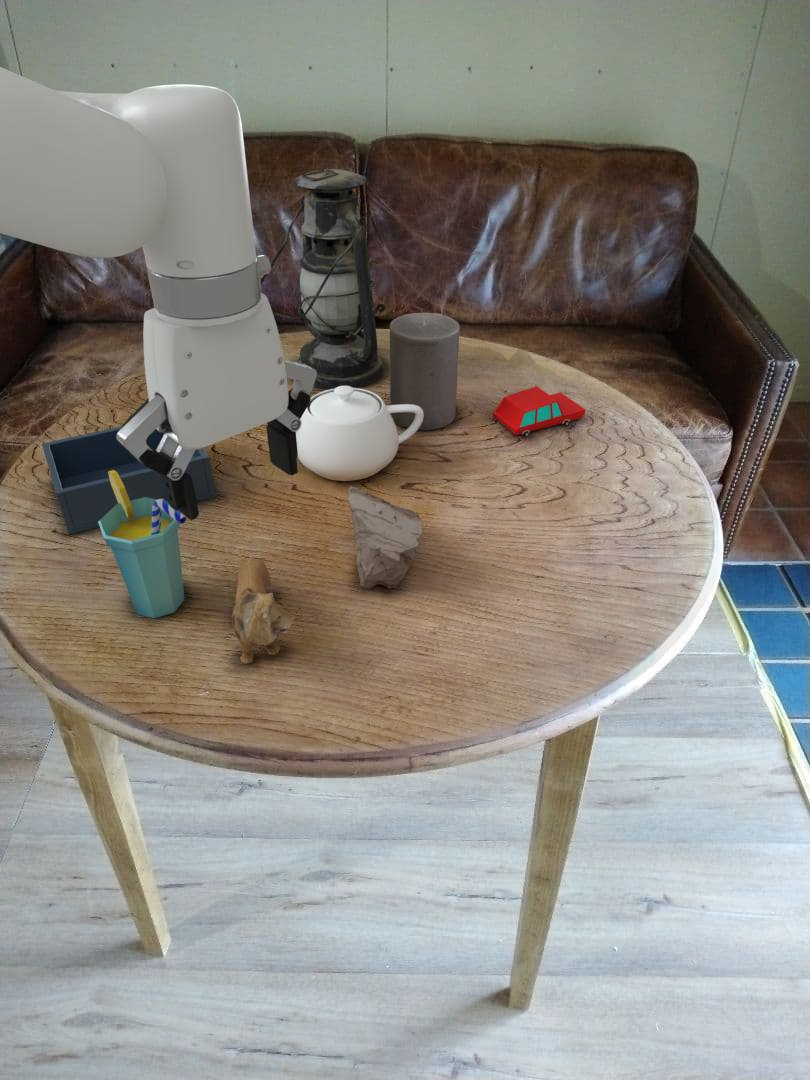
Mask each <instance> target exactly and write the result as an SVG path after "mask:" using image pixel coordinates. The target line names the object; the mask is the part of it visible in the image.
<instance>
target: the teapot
mask: <svg viewBox="0 0 810 1080" xmlns="http://www.w3.org/2000/svg"><path fill="white" fill-rule="evenodd" d="M310 397H311V400H310V403H309V405H308V407H307V408H306V410H305V412H304V413H303V415H302V417H301V418H300V420H301V423H302V424H301V427H300V429H299V430H298V431H296V440H297V451H298V457H297V460H299V462H300V463H301V464H302V465H303V466H304V467H305V468H307V469H309V471H311V472H313V473H315V474H316V475H318V476H320V477H321V478H324V479H327V480H333V481H337V482H338V481H341V482H351V481H359V480H362V479H363V480H364V479H367V478H369V477H371V476H373V475H375V474H377V473H379V472H380V471H381V470H383V469H384V468H385V467H387V466H388V465H389V464H390V463H391V462H392V461H393V460H394V458H395V456H396V455H397V453H398V451H399V445H400V444H402V443H404V442H405V441H407V440H408V439H410V438H411V437H412V436H413V435H414V434H415V433H416V432H418V431H419V430H418V429H419V427H420V426H421V424H422V421H423V417H424V414H423V410H422V409H421V407H419V406H417V405H412V404H400V405H391V404H388V405H387V404H385V403H386V402H385V401H384V399H382V397H381V396H379V395H378V394H376V393H374V392H373V391H370V390H368V389H364V388H360V387H359V388H352V387H350V386H339V387H336V388H335V389H330V390H329V389H324V390H322V391H320V392H318V393H316V394H314V395H312V396H310ZM399 412H413V413H415V414H416V415H415V419H414V421H413V423H412V424H411V425H410V427H409V428H406V429H405V430H404V431H403V432H401V433H400V434H399V433H398V429H397V424H396V423H395V422H394V420H393V418H392V416H391V414H390V413H399Z"/></svg>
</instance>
